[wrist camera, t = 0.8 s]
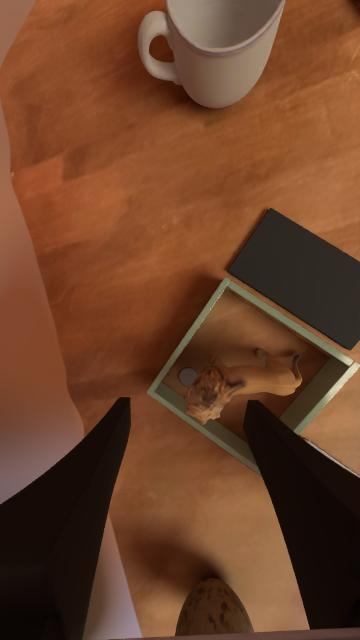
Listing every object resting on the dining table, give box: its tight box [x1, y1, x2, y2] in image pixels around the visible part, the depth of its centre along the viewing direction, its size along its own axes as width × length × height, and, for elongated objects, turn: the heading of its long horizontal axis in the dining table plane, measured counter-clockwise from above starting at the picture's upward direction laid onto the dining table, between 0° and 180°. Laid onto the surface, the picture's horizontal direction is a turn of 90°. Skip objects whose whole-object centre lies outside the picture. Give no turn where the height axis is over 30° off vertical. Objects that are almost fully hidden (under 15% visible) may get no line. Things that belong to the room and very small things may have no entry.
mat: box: [227, 208, 360, 350], centre depth 24 cm, size 18×9×1 cm, turn 56°
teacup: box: [138, 0, 286, 108], centre depth 20 cm, size 14×11×8 cm
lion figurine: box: [185, 349, 302, 424], centre depth 22 cm, size 15×5×9 cm, turn 108°
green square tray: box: [146, 277, 360, 477], centre depth 25 cm, size 18×18×4 cm
